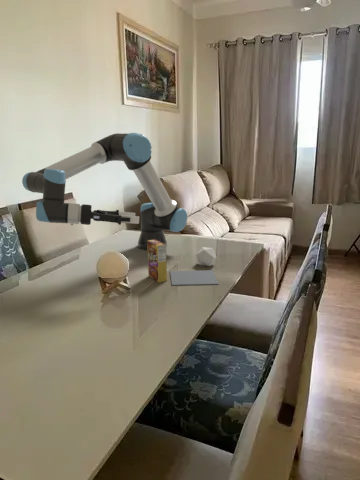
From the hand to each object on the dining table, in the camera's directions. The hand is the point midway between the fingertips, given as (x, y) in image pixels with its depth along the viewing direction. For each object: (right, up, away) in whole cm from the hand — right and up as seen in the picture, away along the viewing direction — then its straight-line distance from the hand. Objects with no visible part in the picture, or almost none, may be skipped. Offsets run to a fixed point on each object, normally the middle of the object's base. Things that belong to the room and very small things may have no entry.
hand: (137, 218), depth 150 cm
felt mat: (+22, -24, +7) cm, 33 cm away
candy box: (+7, -24, +6) cm, 26 cm away
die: (+28, -20, +24) cm, 42 cm away
